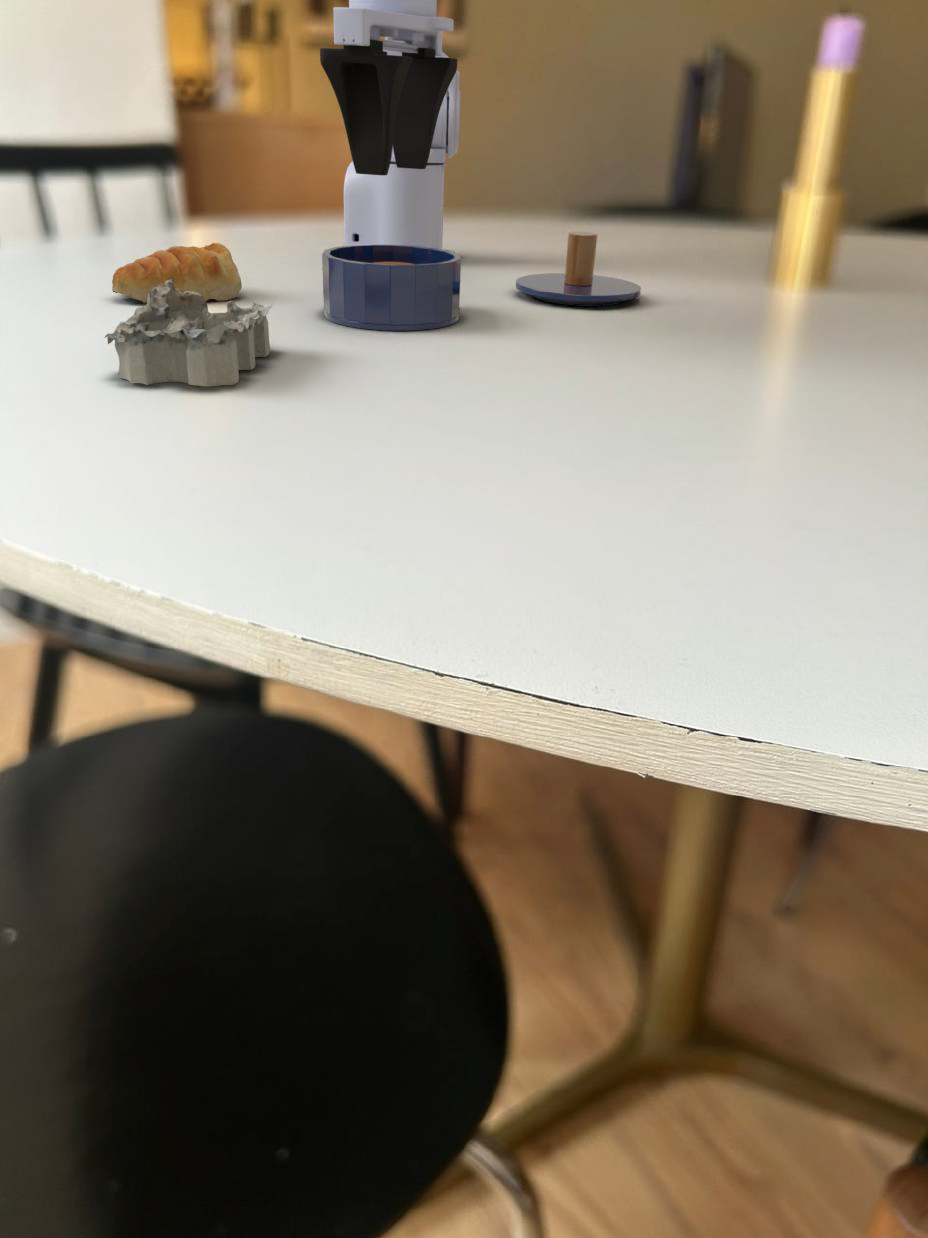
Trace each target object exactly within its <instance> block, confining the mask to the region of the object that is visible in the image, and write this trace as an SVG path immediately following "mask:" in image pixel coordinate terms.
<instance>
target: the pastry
mask: <svg viewBox="0 0 928 1238" xmlns="http://www.w3.org/2000/svg"><path fill="white" fill-rule="evenodd" d="M240 275H241V274H240V273H239V268H238V266H237V264H235V262H234V260H233V256H232V253H231V251H230V249H228V248H227V246H226V245H224V244H221V243H220V242H213V243H211V244H208V245H207V244H206V245H204V246H202V247H198V246H182V245H176V246H175V245H174V246H173V245H172V246H171V247H168V248H167V249H165V250H163V249H162V250H157V251H154V252H153V253H152V254H149V255H147V256H144V257H140V258H137V259H135V260H134V261H133V262H129V263H126V264H125V265H124V266H121V267H119V268H117V269H116V270H115V271H114V273H113V275H112V280H111V283H112V287H111V289H112V293H115V294H120V295H122V296H125V297H127V298H131V299H134V300H137V301H140V302H142V303H143V304H146V303H147V299H148V294H149V293H150V292H151V291H152V290H153V288H154V287H158V285H159V284H160V283H161V282H162V283H163V284H165V282H166V281H168V280H170V279H173V280H174V281H173V285H174V287H175V289H178V290H181V291H183V292H185V291H192V292H196V293H199V294H201V295H202V296H203V297H204V299H205V302H208V301H209V300H210V299H212V300H213V299H214V300H215V301H219V302H220V301H228V300H231V299H232V300H233V299H235V298H238V297H239V293H240V291H241V290H242V286H243V284H242V278H241V276H240Z"/></svg>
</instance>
